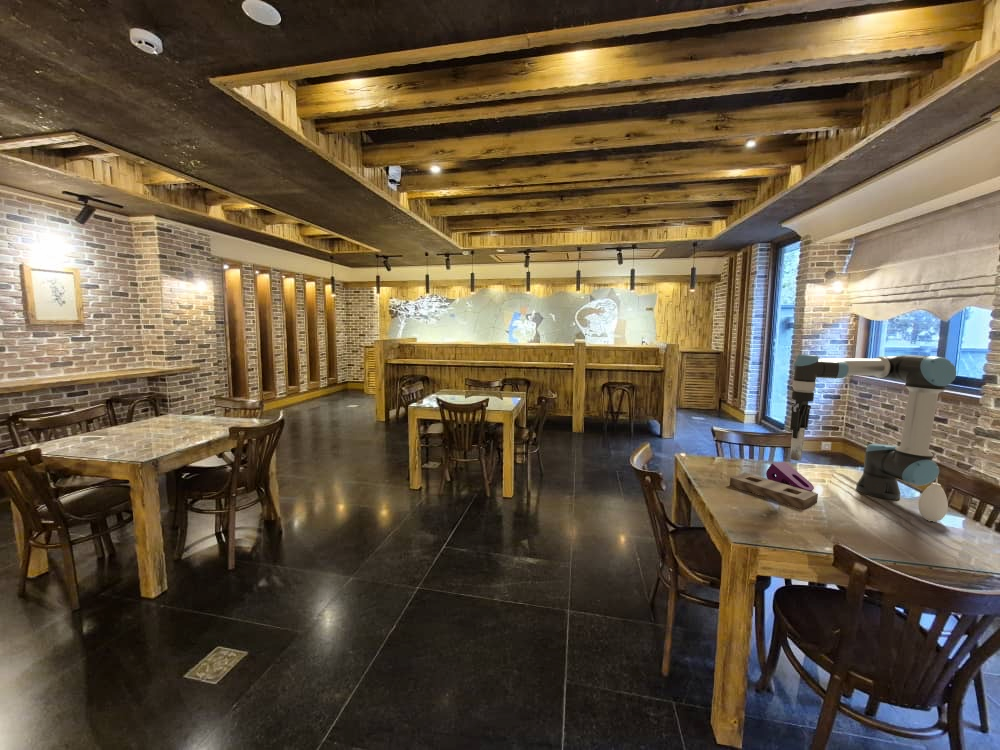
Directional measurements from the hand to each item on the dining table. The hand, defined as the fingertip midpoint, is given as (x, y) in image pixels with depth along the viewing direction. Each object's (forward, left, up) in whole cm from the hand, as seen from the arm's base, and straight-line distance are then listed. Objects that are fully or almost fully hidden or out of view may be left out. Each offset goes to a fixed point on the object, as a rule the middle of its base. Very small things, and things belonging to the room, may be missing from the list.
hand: (797, 444), depth 177 cm
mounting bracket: (+8, -20, -25) cm, 33 cm away
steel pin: (0, 0, -6) cm, 6 cm away
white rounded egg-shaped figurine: (-38, -27, -25) cm, 53 cm away
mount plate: (+8, 0, -25) cm, 26 cm away
